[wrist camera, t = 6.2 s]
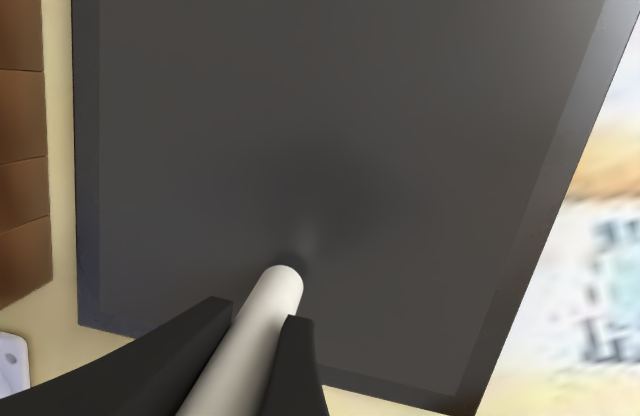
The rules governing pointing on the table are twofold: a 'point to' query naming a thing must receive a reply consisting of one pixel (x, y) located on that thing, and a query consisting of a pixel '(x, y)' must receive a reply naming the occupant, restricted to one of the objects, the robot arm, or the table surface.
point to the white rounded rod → (246, 350)
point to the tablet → (335, 168)
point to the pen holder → (23, 154)
